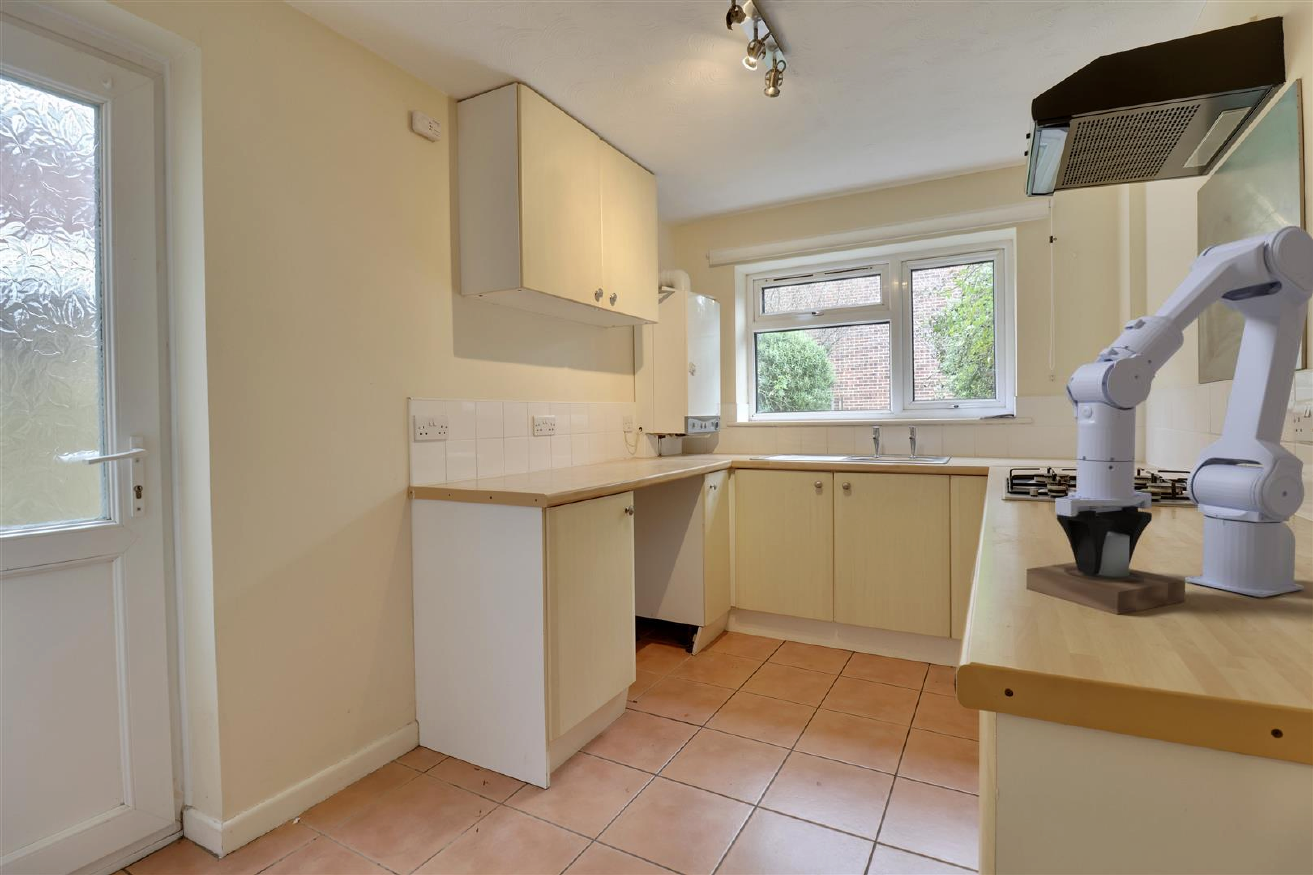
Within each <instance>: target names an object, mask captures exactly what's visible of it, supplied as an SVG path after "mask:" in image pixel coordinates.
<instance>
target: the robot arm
mask: <svg viewBox="0 0 1313 875" xmlns="http://www.w3.org/2000/svg"><path fill="white" fill-rule="evenodd" d="M1311 298H1313V237H1312V236H1311V235H1310V234H1309V233H1308V231H1306V230H1305V229H1304V228H1302V227H1300V226H1297V225H1288V226H1283V227H1280V228H1278V229H1277V230H1274V231H1270V232H1266V233H1262V234H1258V235H1253V236H1251V237H1246V238H1242V239H1239V240H1235V241H1231V242H1227V243H1223V244H1215V245H1214V244H1213V245H1211V246H1208V247H1206V248H1205V249H1204V250H1203V251H1202V252H1201V253H1200V254H1199V255H1198V257H1197V258H1195V259H1194V260H1192V261H1190V264H1189V273H1188V275H1187V276H1186V277H1185V278H1184V279H1183V280H1182V282H1181V283H1180V284H1179V286H1178V287H1177V288H1176V289H1175V290H1174V291H1173V293H1172V294H1171V295H1170V296H1169V297H1168V299H1167V300H1165V302H1164V303H1163V304H1162V305H1161V307H1160V308H1158V310H1157V311H1156V312H1155V313H1154V315H1145V316H1141V317H1140V316H1139V317H1138V318H1136V319H1131V320H1128V321H1127V323H1126V324H1124V326H1123V328H1124V329H1125V330H1124V331H1123V332H1122V333H1121V334H1120V335H1119V336H1118V337H1117V338H1116V339H1115V340H1114V341H1113V342H1112V343H1111V344H1110V345H1109V346H1108V347H1106V348H1103V349H1102V350H1101V351H1100V352H1099V356H1098V357H1097V359H1096V360H1095V361H1094V362H1089V363H1085V364H1082V365H1081V366H1079V367H1078V368H1077V369H1076V370H1075V371H1074V372H1073V373H1072V374H1071V377H1070V379H1069V382H1068V384H1066V385H1065V393H1066V397H1067V399H1068V401H1069V402H1070V403H1071V405H1072V408H1073V418H1075V421H1076V423H1077V426H1076V428H1077V429H1076V430H1077V431H1076V432H1077V434H1076V436H1077V438H1076V480H1075V482H1076V485H1075V486H1076V488H1075V489H1076V490H1075V491H1072V492H1071V491H1070V492H1068V493H1067V496H1063V497H1056V498H1055V500H1054V501H1055V503H1054V504H1055V506H1054V508H1055V509H1054V510H1055V512H1054V514H1055V515H1056V520H1057V521H1058V523H1059V524H1060V526H1061V528H1062V529H1063V531H1064V533H1065V536H1066V537H1067V539H1068V541H1069V545H1071V547H1070V548H1071V550H1072V554H1073V558H1074V562H1076V565H1077V569H1078V571H1081V572H1085V573H1089V574H1093V575H1096V574H1098V573H1099V570H1100V567H1101V560H1102V551H1103V545H1104V541H1105V538H1106V535H1107V533H1108V531H1109V532H1117V533H1122V534H1126V535H1128V536H1129V537H1130V538H1129V565H1130V564H1131V562H1132V558H1133V554H1134V552H1135V549H1136V547H1137V544H1138V542H1139V539H1140V537H1141V536H1142V534H1143V533H1144V530H1145V529H1146V527H1147V526H1148V525H1149V524H1150V523H1151V522H1152V520H1153V519H1152V518H1153V514H1152V513H1151V512H1148V511H1140V510H1139V509H1144V510H1149V509H1151V508H1152V493H1151V492H1143V491H1142V492H1140V491H1135V465H1136V464H1135V460H1136V459H1135V456H1136V455H1135V454H1136V453H1135V452H1136V417H1137V416H1136V414H1137V413H1136V412H1137V410H1136V409H1137V406H1139V405H1140V404H1142V403H1143V402H1145V401H1146V400H1148V397H1149V395H1150V392H1151V389H1152V382H1153V381H1154V378H1156V374H1157V372H1158V371H1159V370H1161V368H1162V367H1163V366H1164V365H1165V364H1166V363H1167V362H1168V361H1169V360H1170V359H1171V358H1172V357H1173V356H1174V355H1175V354H1176V353H1177V352H1178V351H1179V350H1180V349H1181V348H1182V346H1183V345H1184V341H1185V339H1184V338H1185V337H1184V333H1183V331H1184V330H1185V329H1186V328H1188V327H1189V325H1191V324H1192V323H1193V322H1194V321H1195V320H1197V319H1198V318H1199V317H1200V316H1201V315H1202V314H1203V313H1205V312H1206V311H1207V310H1208V309H1209V308H1210V307H1211V306H1212V305H1214V304H1215V303H1216V302H1217V301H1218V302H1219V303H1221V304H1222V305H1223V306H1224V307H1226V308H1227V309H1228V310H1230V311H1233V312H1236V313H1240V314H1241V315H1242V316H1243V317H1244V319H1245V324H1244V328H1243V333H1242V338H1241V342H1240V347H1239V352H1238V355H1237V356H1238V357H1237V362H1236V366H1235V370H1234V377H1233V381H1232V386H1231V390H1230V395H1229V399H1228V406H1227V410H1226V414H1225V415H1226V416H1225V420H1224V425H1223V429H1222V434H1221V437H1220V438H1218V440H1216V441H1215V442H1213V443H1211V444H1210V445H1207V446H1206V447H1205V448H1203V449H1202V450H1200V451H1199V453H1198V457H1197V461H1196V464H1195V466H1194V467H1193V469H1192V470H1191V471H1190V472H1189V475H1188V477H1187V480H1186V481H1187V482H1186V493H1187V495H1188V498H1189V500H1190V502H1192V504H1193V505H1195V506H1196V507H1197V513H1198V514H1202V515H1203V518H1202V519H1203V520H1202V521H1203V524H1202V526H1203V527H1202V530H1203V531H1202V561H1201V562H1202V563H1201V564H1202V566H1201V574H1199V575H1194V576H1187V577H1185V582H1187V583H1192V584H1197V585H1202V586H1206V587H1210V588H1214V589H1215V588H1216V589H1219V590H1220V589H1221V590H1224V591H1228V592H1234V593H1237V594H1243V595H1247V596H1253V597H1256V598H1267V597H1270V596H1276V595H1280V594H1286V593H1291V592H1295V591H1300V590H1304V589H1305V585H1303V584H1299V583H1295V567H1296V566H1295V565H1296V563H1295V562H1296V537H1295V534H1294V532H1293V530H1292V529H1291V528H1290V526H1288V524H1287V523H1285V522H1289V521H1290V518H1291V517H1292V516H1293V515H1295V514H1296V513H1297V512H1298V510H1299V509H1300V508H1301V506H1302V505H1303V502H1304V499H1305V486H1304V484H1303V483H1304V482H1303V477H1302V476H1303V467H1304V461H1302V460H1301V459H1300V458H1298V456H1296V455H1295V454H1294V453H1293V452H1291V451H1290V450H1288V449H1287V448H1286V447H1284V446H1283V445H1281V439H1282V434H1283V430H1284V425H1285V421H1286V416H1287V412H1288V406H1289V401H1290V396H1291V392H1292V387H1293V383H1294V377H1295V374H1296V368H1297V363H1298V358H1299V353H1300V348H1301V343H1302V339H1303V334H1304V331H1305V330H1304V329H1305V325H1306V320H1307V314H1308V310H1309V309H1308V308H1309V300H1311ZM1243 464H1244V465H1243ZM1245 464H1248V465H1245ZM1252 465H1255V466H1252ZM1256 465H1257V466H1256ZM1259 465H1260V466H1259ZM1102 506H1105V507H1102Z"/></svg>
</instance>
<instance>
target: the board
mask: <svg viewBox="0 0 1313 875" xmlns="http://www.w3.org/2000/svg"><path fill="white" fill-rule="evenodd" d="M1026 589H1027V590H1031V591H1035V592H1037V591H1038V592H1037V593H1041V594H1045V595H1048V596H1052V597H1055V598H1059V599H1063V600H1065V601H1068V602H1073V603H1077V604H1080V605H1082V606H1086V607H1090V608H1093V609H1098V610H1101V611H1105V612H1108V613H1111V614H1115V615H1121V614H1126V613H1131V612H1137V611H1143V610H1146V609H1147V610H1148V609H1152V608H1157V607H1162V606H1168V605H1172V604H1179V603H1184V602H1185V600H1186V580H1184V579H1180V578H1175V577H1172V576H1167V575H1161V574H1157V573H1152V572H1149V571H1148V572H1147V571H1143V570H1140V569H1139V570H1138V569H1133V568H1130V567H1129V578H1128V579H1126V580H1105V579H1098V578H1092V577H1088V576H1085V575H1082V574H1080V573H1079V572H1078V569H1077V565H1076V562H1075V561H1073V562H1068V563H1067V562H1066V563H1060V564H1053V565H1046V566H1038V567H1032V568H1026Z"/></svg>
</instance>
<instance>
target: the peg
mask: <svg viewBox="0 0 1313 875" xmlns="http://www.w3.org/2000/svg"><path fill="white" fill-rule="evenodd" d="M1129 538H1130V537H1129V536H1128V535H1126V534H1122V533H1117V532H1109V531H1108V533H1107V535H1106V538H1105V541H1104V545H1103V551H1102V560H1101V567H1100V570H1099V573H1098V574H1096V575H1093V574H1089V573H1085V572H1081V571H1078V572H1079V573H1080V574H1082V575H1085V576H1088V577H1092V578H1098V579H1105V580H1126V579H1128V578H1129V568H1130V564H1129Z"/></svg>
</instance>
